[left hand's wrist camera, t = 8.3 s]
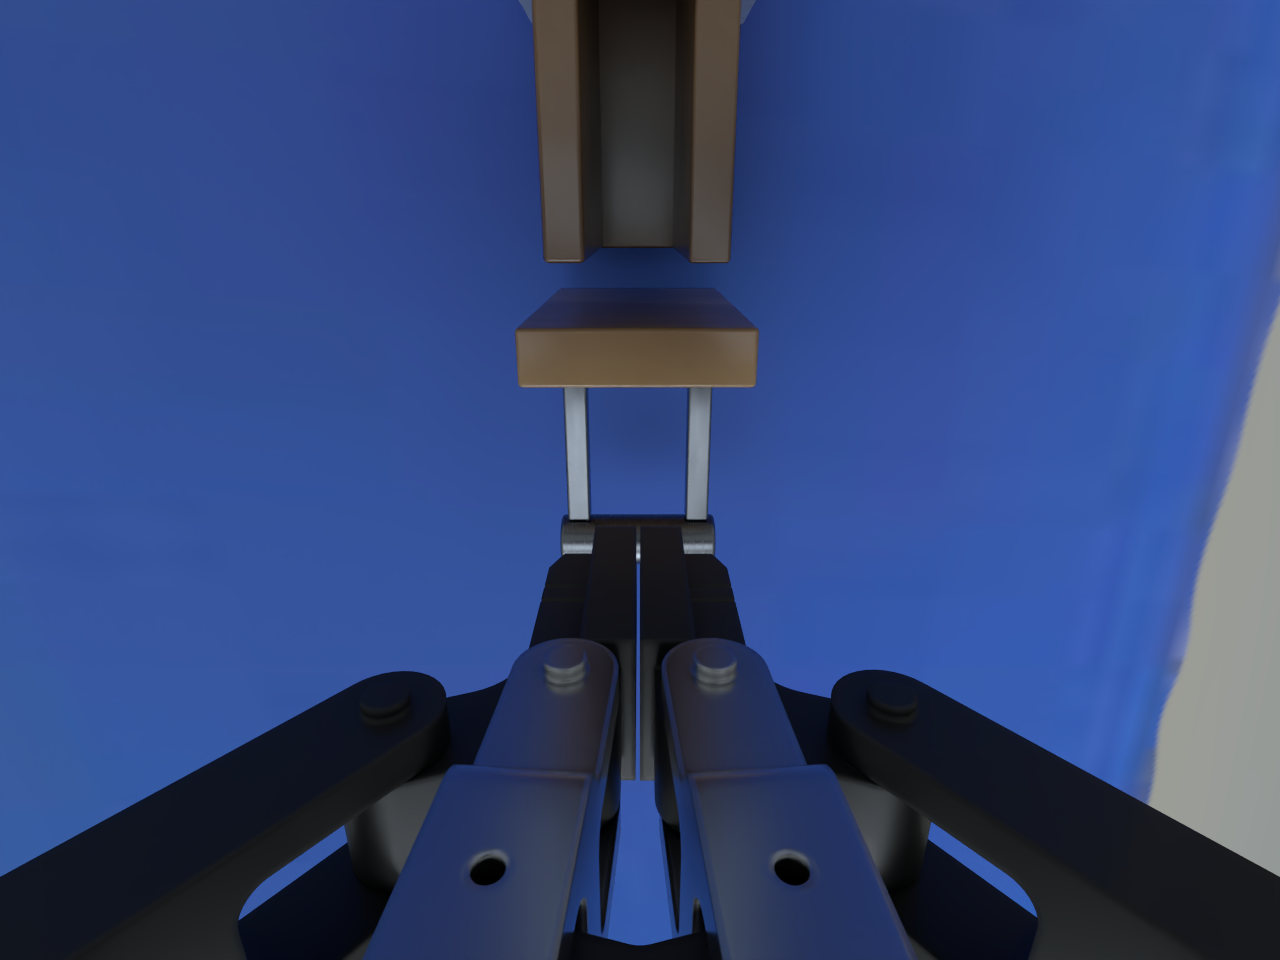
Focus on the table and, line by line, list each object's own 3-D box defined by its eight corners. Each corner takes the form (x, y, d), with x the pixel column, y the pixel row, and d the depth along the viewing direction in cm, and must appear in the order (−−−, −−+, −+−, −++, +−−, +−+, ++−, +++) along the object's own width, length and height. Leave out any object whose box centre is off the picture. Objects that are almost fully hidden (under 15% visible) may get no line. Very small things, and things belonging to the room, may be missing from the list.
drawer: (708, 500, 24) (741, 638, 16) (568, 500, 24) (533, 638, 16) (741, -395, 16) (836, -974, 8) (532, -395, 16) (431, -973, 8)
